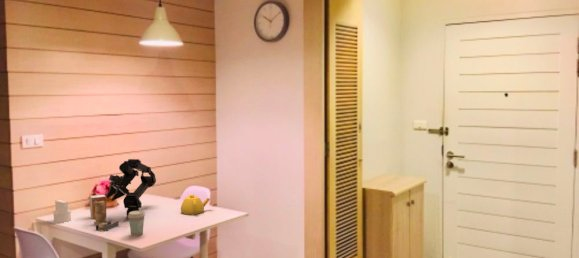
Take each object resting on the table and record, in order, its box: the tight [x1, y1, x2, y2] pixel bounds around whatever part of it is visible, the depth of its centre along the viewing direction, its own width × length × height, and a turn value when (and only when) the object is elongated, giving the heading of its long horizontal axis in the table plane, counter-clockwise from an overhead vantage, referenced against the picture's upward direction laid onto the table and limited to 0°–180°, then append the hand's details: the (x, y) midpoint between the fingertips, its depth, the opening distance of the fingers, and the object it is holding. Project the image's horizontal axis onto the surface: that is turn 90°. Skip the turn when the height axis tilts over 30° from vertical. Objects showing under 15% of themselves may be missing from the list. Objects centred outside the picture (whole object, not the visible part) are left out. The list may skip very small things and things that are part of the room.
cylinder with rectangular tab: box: [53, 199, 72, 224], centre depth 273 cm, size 9×9×12 cm
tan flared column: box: [95, 201, 107, 224], centre depth 268 cm, size 4×4×12 cm
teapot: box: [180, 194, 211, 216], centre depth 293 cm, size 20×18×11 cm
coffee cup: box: [127, 210, 146, 237], centre depth 248 cm, size 9×8×12 cm
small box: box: [89, 194, 107, 220], centre depth 281 cm, size 8×6×13 cm
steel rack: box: [95, 220, 120, 232], centre depth 260 cm, size 11×6×2 cm, turn 160°
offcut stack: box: [97, 223, 107, 232], centre depth 257 cm, size 4×3×4 cm
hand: (109, 199), depth 270 cm, fingers open, 9 cm apart
